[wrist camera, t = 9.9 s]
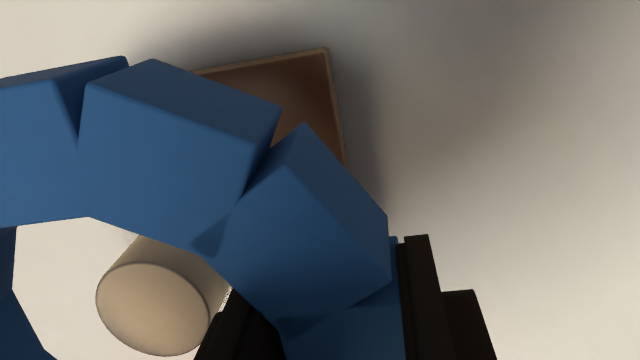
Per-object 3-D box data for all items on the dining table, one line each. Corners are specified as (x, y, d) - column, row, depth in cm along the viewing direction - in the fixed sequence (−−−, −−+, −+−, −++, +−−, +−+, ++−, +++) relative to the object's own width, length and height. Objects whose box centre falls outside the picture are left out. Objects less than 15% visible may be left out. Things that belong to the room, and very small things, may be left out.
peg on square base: (327, 46, 18) (287, 112, 9) (362, 245, 21) (357, 430, 13) (116, 84, 19) (-91, 173, 11) (181, 264, 23) (64, 441, 14)
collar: (365, 8, 8) (364, 19, 6) (429, 464, 13) (440, 561, 11) (-179, 112, 10) (-324, 148, 8) (45, 475, 15) (-9, 558, 13)
